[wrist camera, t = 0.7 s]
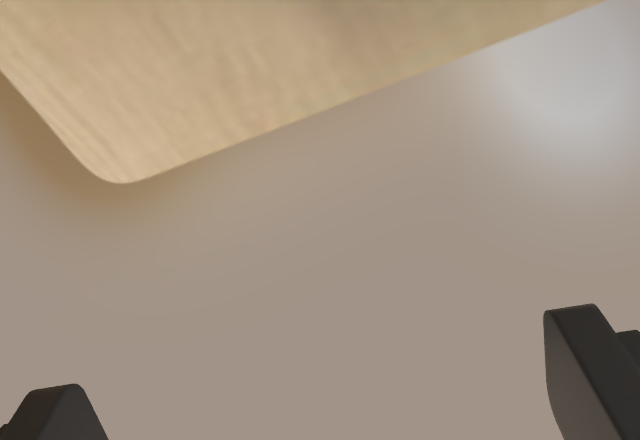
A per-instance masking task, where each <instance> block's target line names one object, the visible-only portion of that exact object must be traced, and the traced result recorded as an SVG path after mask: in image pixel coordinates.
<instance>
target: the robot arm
mask: <svg viewBox="0 0 640 440" xmlns="http://www.w3.org/2000/svg"><path fill="white" fill-rule="evenodd" d="M543 325H544V344H545V364H546V382H547V390H548V396H549V400H550V404H551V408H552V411H553V414H554V417H555V420H556V422H557V424H558V427H559V429H560V431H561V433H562V436H563V438H564V440H640V332H639V331H637V330H631V331H625V332H618V333H615V331H614V330H613V329H612V327H611V326H610V324H609V323H608V321H607V320H606V319H605V317H604V316H603V314H602V313H601V311H600V310H599V309H598V307H597V306H596V305H594V304H585V305H579V306H572V307H566V308H560V309H553V310H547V311H545V313H544V317H543ZM0 440H108V438H107V436H106V433H105V431H104V429H103V427H102V425H101V423H100V421H99V419H98V417H97V415H96V413H95V411H94V409H93V407H92V405H91V403H90V401H89V399H88V397H87V395H86V393H85V391H84V390H83V388H81V386H79V385H78V384H68V385H62V386H56V387H49V388H44V389H36V390H33V391H31V392H29V393H28V394H27V395H26V397H25V398H24V400H23V402H22V403H21V405H20V406H19V408H18V409H17V411H16V413H15V414H14V415H13V417H12V419H11V420H10V422H9V423H8V424H4V425H3V426H2V427H1V428H0Z"/></svg>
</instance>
